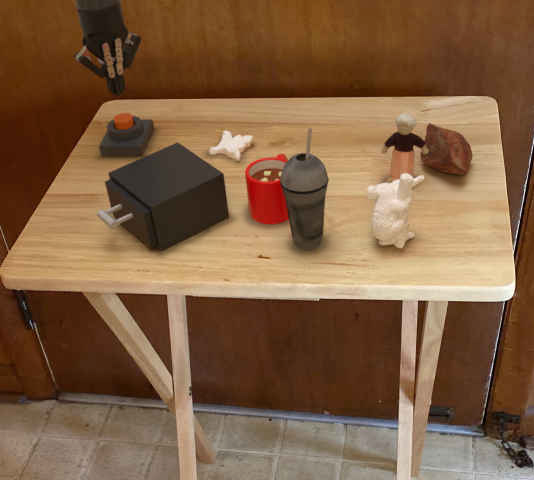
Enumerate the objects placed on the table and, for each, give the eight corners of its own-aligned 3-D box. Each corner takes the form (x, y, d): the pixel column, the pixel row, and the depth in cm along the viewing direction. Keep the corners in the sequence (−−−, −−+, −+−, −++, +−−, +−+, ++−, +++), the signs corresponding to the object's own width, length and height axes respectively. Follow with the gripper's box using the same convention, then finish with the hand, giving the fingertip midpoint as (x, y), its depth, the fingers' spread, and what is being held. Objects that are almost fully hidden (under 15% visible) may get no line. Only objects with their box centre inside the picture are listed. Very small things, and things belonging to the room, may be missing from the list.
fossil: (473, 174, 133) (451, 117, 131) (425, 193, 137) (403, 137, 135) (481, 161, 144) (461, 108, 142) (437, 178, 148) (416, 127, 146)
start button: (131, 130, 153) (129, 122, 151) (113, 130, 153) (111, 122, 152) (136, 121, 155) (134, 112, 154) (118, 121, 156) (116, 112, 155)
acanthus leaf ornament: (224, 136, 156) (223, 127, 154) (257, 142, 153) (256, 133, 152) (206, 155, 151) (204, 146, 150) (238, 161, 148) (237, 152, 147)
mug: (307, 185, 141) (305, 145, 136) (289, 226, 133) (286, 185, 127) (263, 181, 143) (259, 142, 138) (243, 221, 135) (238, 181, 129)
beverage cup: (285, 229, 132) (276, 118, 119) (330, 227, 132) (326, 115, 118) (284, 257, 127) (275, 143, 113) (331, 255, 126) (327, 141, 113)
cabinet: (160, 251, 130) (151, 207, 124) (118, 215, 139) (107, 172, 133) (229, 217, 136) (223, 173, 130) (184, 184, 144) (177, 142, 138)
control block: (142, 156, 152) (138, 137, 150) (101, 156, 154) (96, 137, 151) (154, 129, 160) (151, 110, 157) (115, 129, 161) (111, 111, 158)
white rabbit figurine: (420, 228, 129) (424, 163, 121) (421, 254, 125) (425, 188, 117) (367, 227, 131) (367, 162, 123) (365, 253, 126) (365, 187, 118)
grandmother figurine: (382, 188, 139) (383, 121, 130) (379, 176, 141) (381, 109, 133) (427, 185, 138) (432, 118, 130) (424, 173, 141) (428, 106, 132)
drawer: (128, 260, 128) (120, 224, 123) (91, 226, 135) (81, 191, 131) (215, 217, 135) (210, 182, 130) (175, 187, 142) (168, 153, 138)
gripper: (119, -18, 143) (138, 74, 155) (52, 5, 138) (76, 99, 149) (141, -7, 138) (159, 87, 150) (72, 17, 133) (96, 113, 145)
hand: (118, 93), depth 150 cm, fingers closed
